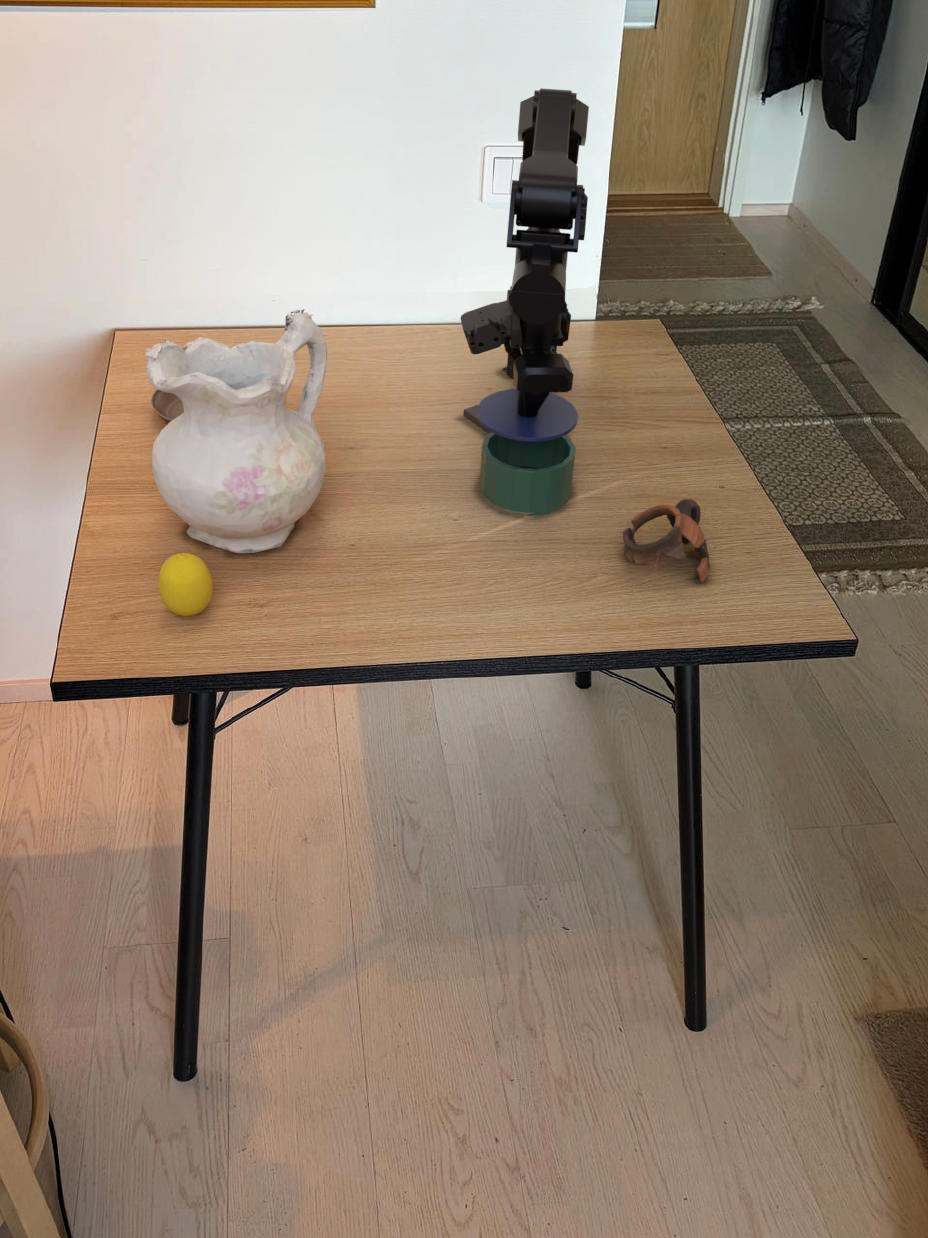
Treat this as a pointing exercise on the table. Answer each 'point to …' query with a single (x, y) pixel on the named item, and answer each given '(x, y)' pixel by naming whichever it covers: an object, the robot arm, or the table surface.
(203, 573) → the lemon
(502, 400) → the lid
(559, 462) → the pot
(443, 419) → the table surface
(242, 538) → the ceramic pitcher
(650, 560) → the broken clay ring
